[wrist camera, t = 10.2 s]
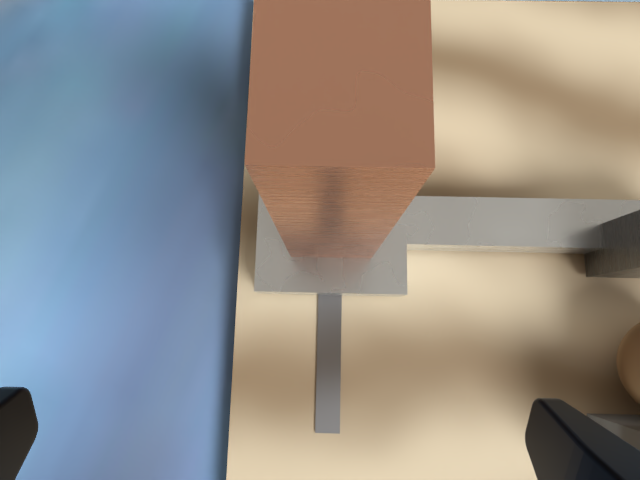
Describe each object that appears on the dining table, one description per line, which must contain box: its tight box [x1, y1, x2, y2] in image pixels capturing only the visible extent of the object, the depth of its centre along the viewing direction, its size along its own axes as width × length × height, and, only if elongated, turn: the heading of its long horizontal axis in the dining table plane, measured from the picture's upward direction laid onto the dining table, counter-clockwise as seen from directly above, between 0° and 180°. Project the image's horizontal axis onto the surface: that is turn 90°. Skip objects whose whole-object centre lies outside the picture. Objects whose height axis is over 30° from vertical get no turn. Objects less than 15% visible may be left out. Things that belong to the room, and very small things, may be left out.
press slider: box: [245, 0, 640, 297], centre depth 13 cm, size 6×18×12 cm, turn 89°
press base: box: [226, 0, 640, 480], centre depth 17 cm, size 23×21×6 cm
